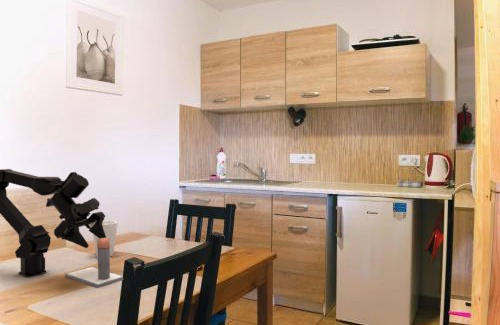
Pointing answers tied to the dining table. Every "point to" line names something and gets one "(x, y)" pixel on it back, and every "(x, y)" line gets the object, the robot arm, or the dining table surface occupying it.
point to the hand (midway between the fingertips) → (97, 243)
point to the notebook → (92, 277)
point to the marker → (103, 258)
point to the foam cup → (108, 235)
